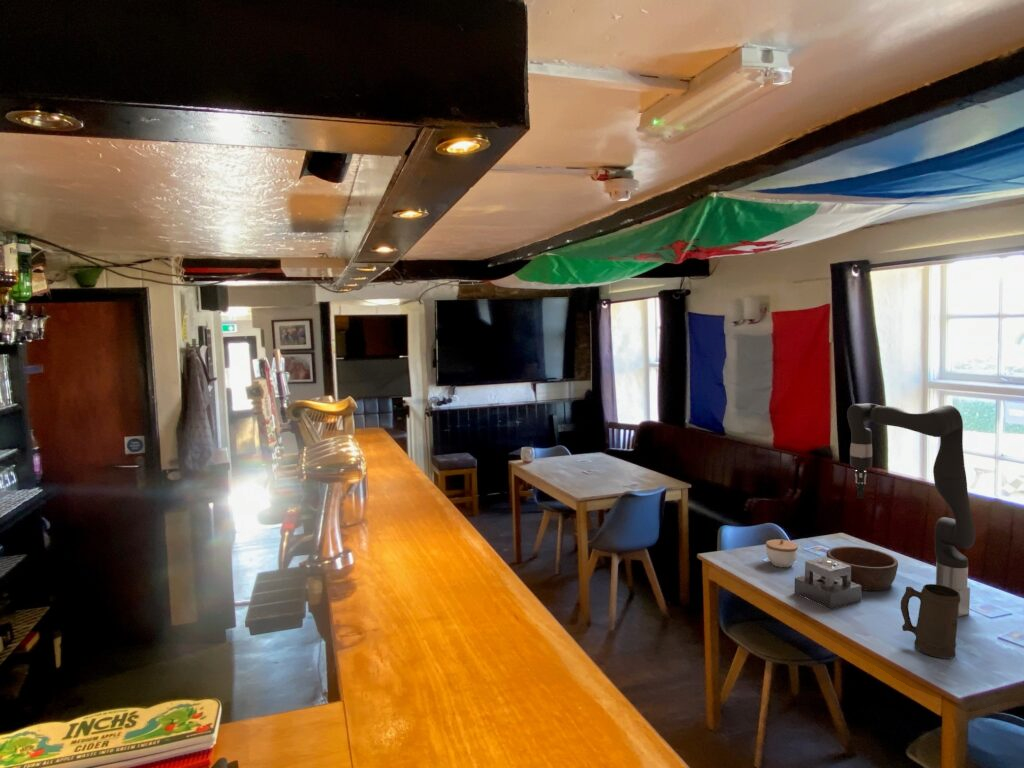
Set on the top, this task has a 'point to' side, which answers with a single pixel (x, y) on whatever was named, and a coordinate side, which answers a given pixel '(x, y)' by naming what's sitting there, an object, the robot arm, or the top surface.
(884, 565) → the wooden bowl
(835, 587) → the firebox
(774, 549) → the lidded bowl
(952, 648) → the beer stein
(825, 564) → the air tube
